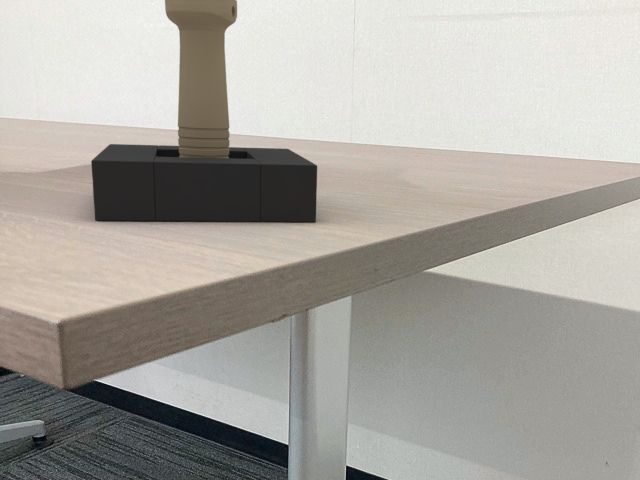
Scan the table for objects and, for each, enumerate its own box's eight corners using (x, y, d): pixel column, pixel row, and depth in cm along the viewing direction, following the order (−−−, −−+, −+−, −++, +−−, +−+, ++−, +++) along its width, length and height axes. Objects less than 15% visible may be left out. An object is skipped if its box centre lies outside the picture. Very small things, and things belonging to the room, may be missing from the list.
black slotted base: (95, 220, 52) (91, 160, 51) (112, 191, 66) (109, 143, 65) (315, 222, 55) (317, 165, 54) (287, 194, 69) (288, 148, 68)
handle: (246, 202, 63) (246, 4, 59) (221, 213, 57) (218, -7, 53) (191, 198, 64) (186, 2, 59) (159, 208, 58) (151, -9, 53)
